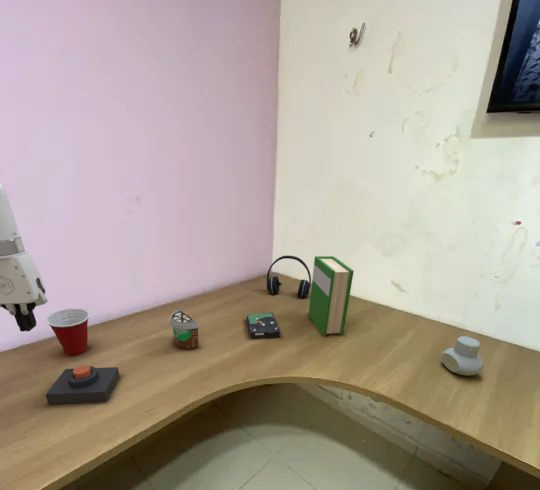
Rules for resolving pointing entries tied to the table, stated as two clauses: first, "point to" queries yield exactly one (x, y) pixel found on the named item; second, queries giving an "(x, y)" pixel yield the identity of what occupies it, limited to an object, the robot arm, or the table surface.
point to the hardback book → (330, 294)
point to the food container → (184, 330)
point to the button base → (83, 387)
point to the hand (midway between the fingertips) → (28, 328)
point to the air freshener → (463, 357)
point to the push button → (82, 372)
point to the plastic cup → (70, 329)
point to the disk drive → (263, 325)
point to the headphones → (274, 281)
